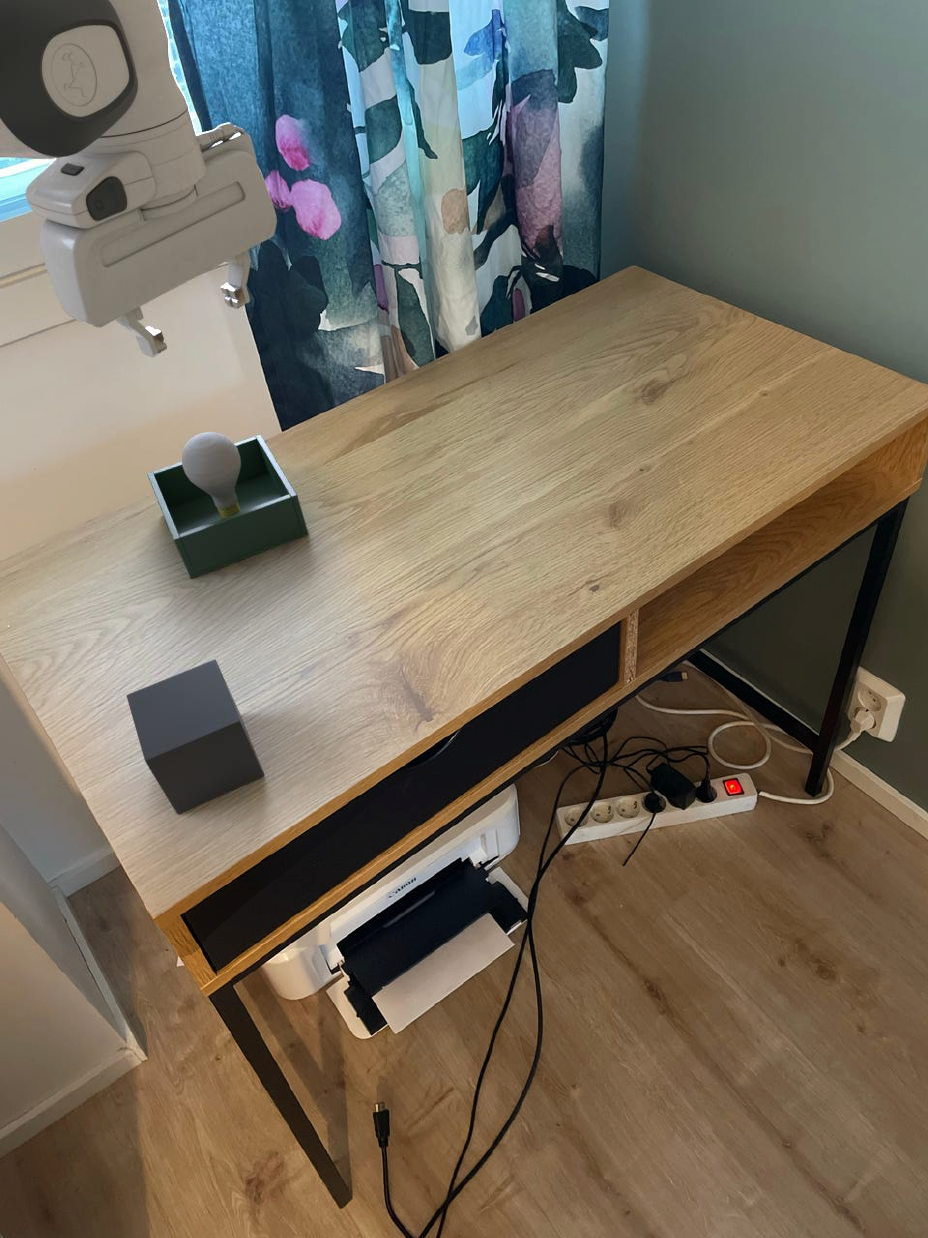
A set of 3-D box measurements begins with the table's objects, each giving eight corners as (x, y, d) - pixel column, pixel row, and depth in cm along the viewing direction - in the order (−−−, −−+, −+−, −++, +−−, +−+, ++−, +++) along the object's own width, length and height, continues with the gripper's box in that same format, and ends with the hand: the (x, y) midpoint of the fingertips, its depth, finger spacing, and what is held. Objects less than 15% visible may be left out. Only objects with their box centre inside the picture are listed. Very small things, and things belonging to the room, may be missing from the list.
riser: (177, 815, 68) (144, 761, 63) (157, 749, 72) (125, 694, 67) (265, 776, 70) (240, 721, 65) (240, 714, 74) (215, 658, 69)
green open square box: (190, 579, 87) (173, 540, 83) (163, 511, 95) (146, 473, 91) (308, 534, 90) (297, 494, 86) (272, 472, 98) (260, 434, 94)
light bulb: (265, 501, 93) (238, 419, 86) (250, 536, 89) (221, 453, 82) (215, 502, 94) (184, 421, 87) (199, 536, 90) (165, 454, 83)
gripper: (219, 110, 75) (261, 271, 85) (4, 200, 64) (81, 371, 74) (270, 119, 72) (307, 285, 82) (53, 214, 61) (126, 392, 71)
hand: (198, 327), depth 78 cm, fingers open, 8 cm apart
